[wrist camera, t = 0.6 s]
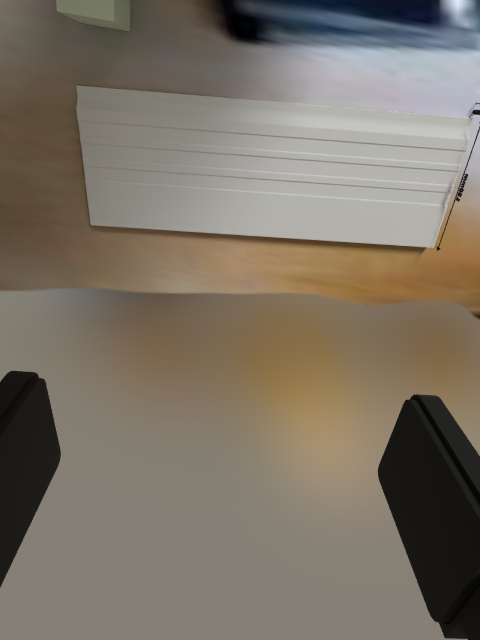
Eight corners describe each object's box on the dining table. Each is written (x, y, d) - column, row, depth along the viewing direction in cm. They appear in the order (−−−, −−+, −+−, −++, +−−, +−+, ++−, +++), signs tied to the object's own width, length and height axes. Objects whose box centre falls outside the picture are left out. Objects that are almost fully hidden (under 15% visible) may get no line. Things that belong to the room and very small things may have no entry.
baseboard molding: (77, 63, 29) (96, 220, 35) (62, 60, 26) (85, 230, 33) (474, 97, 30) (426, 242, 36) (496, 97, 28) (441, 253, 34)
